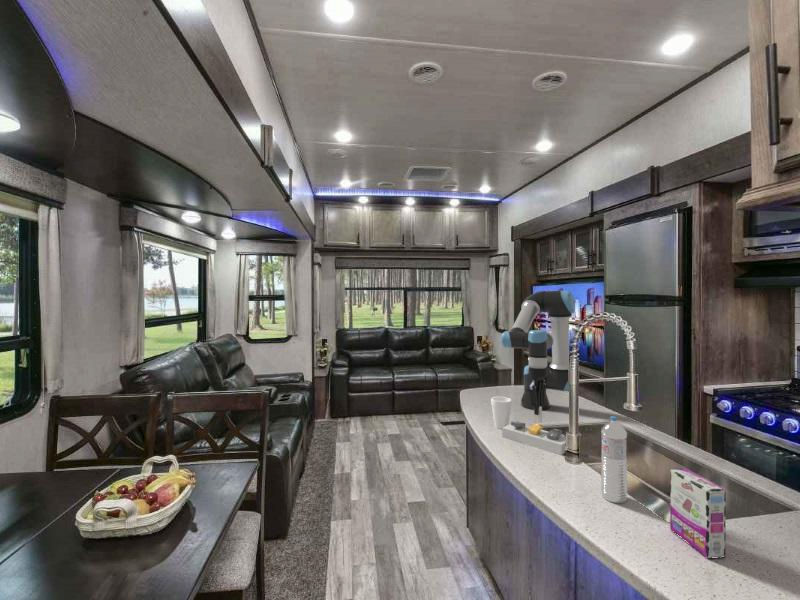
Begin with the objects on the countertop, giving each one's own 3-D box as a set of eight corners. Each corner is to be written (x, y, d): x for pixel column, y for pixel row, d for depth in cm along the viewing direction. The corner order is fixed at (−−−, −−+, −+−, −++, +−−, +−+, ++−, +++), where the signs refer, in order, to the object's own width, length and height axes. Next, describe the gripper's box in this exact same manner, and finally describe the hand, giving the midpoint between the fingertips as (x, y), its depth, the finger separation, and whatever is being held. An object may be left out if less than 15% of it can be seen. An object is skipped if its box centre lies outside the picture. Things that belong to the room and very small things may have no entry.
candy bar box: (727, 558, 87) (727, 489, 87) (707, 560, 86) (707, 490, 86) (686, 528, 98) (686, 467, 98) (669, 530, 98) (669, 468, 97)
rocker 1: (517, 424, 165) (518, 421, 166) (525, 426, 163) (525, 423, 163) (510, 425, 161) (511, 421, 161) (518, 427, 159) (518, 423, 159)
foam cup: (509, 423, 179) (509, 396, 179) (513, 430, 170) (513, 402, 170) (489, 422, 180) (489, 396, 180) (492, 429, 171) (492, 402, 171)
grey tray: (513, 430, 169) (513, 420, 169) (592, 453, 145) (592, 441, 144) (502, 436, 162) (502, 426, 162) (583, 461, 138) (582, 449, 138)
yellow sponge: (535, 426, 160) (534, 423, 159) (543, 428, 157) (542, 425, 157) (528, 432, 156) (528, 429, 155) (536, 434, 153) (536, 431, 153)
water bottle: (626, 506, 108) (626, 422, 108) (600, 500, 112) (600, 418, 112) (627, 496, 114) (627, 415, 114) (601, 490, 118) (601, 412, 117)
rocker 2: (553, 430, 154) (552, 427, 154) (561, 433, 151) (561, 429, 151) (546, 437, 150) (546, 434, 150) (555, 440, 147) (555, 436, 147)
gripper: (536, 363, 165) (536, 416, 165) (522, 367, 156) (522, 423, 156) (553, 365, 159) (553, 420, 159) (539, 370, 150) (539, 427, 150)
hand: (537, 421), depth 158 cm, fingers closed
